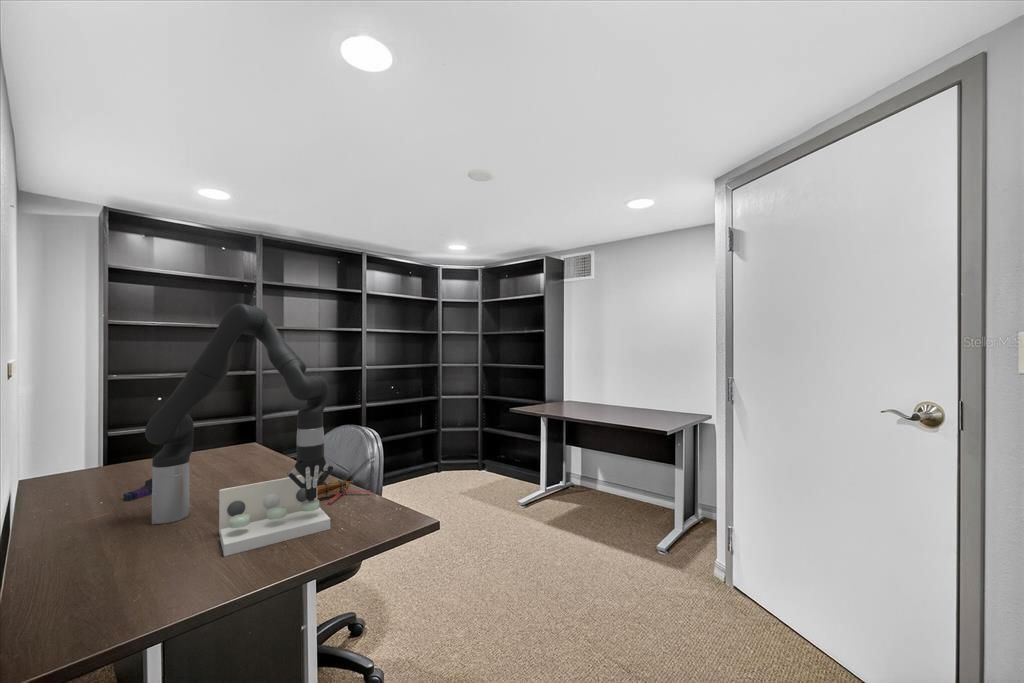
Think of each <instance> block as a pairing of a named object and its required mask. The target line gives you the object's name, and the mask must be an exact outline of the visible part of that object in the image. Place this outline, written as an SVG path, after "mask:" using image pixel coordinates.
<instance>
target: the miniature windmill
mask: <svg viewBox="0 0 1024 683" xmlns="http://www.w3.org/2000/svg"><path fill="white" fill-rule="evenodd" d="M337 480H338V481H332V482H331V481H330V482H327V481H326V480H325V481H324V483H323V484H322V485H319V486H317V499H319V498H321V497H324V496H326V497H327V498H328V497H330V494H331V493H334V494H335V493H336V495H335V496H333V497H332V498H331V499H330V500H328V501H327V502H326V503H327V504H328V503H329V504H331V503H332V502H334V501H336V500H337V499H338V498H339V497H340V496H344V495H346V493H370V492H371V491H372V490H371V489H370V490H368V489H367V490H364V489H363V490H347V488H348V487H349V486H350V485H352V484H354V481H353V480H350V481H349V480H345V479H343V480H342V479H337Z"/></svg>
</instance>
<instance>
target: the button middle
mask: <svg viewBox="0 0 1024 683" xmlns="http://www.w3.org/2000/svg"><path fill="white" fill-rule="evenodd" d="M285 516H286V507H285V506H277V507H273V508H270V509H268V510H267V519H270V520H274V519H280V518H283V517H285Z"/></svg>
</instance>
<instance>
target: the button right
mask: <svg viewBox="0 0 1024 683" xmlns="http://www.w3.org/2000/svg"><path fill="white" fill-rule="evenodd" d="M319 507H320V499H319V498H317V499H314V501H308V500H306V501H304V502H302V511H304V512H310V511H314V510H317V509H319Z"/></svg>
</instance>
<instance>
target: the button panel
mask: <svg viewBox="0 0 1024 683" xmlns="http://www.w3.org/2000/svg"><path fill="white" fill-rule="evenodd" d="M328 530H331V518H330V517H329V516H328V514H327V513H326V512H325V511H324V510H323V509H322V508H321V507H320V506H319V509H317V510H314V511H310V512H304V511H300V512H295V513H291V514H287V515H286V516H285V517H283V518H280V519H274V520H270V519H264V520H260V521H255V522H251V523H250V524H248V525H247V526H244V527H240V528H230V527H229V528H224V529H220V536H219V538H220V545H221V549H222V554H223V557H227V556H231V555H235V554H239V553H243V552H247V551H251V550H255V549H258V548H263V547H265V546H270V545H274V544H277V543H283V542H285V541H290V540H293V539H297V538H301V537H305V536H309V535H312V534H317V533H320V532H324V531H328Z"/></svg>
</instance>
